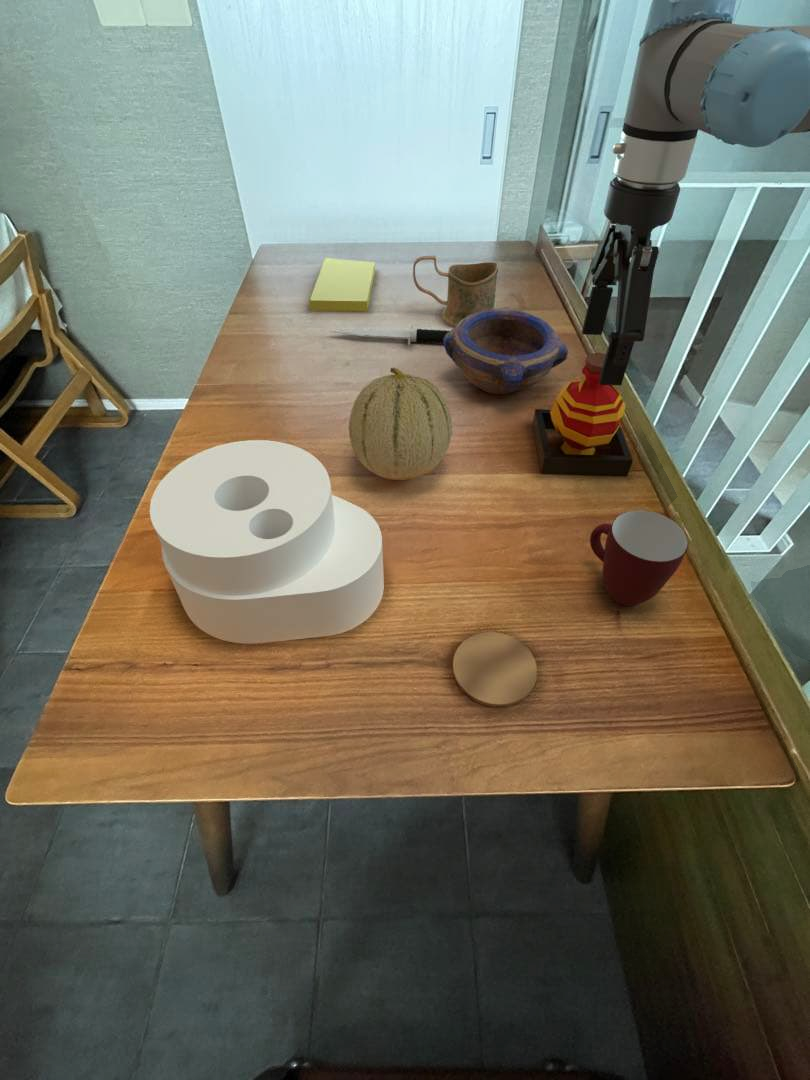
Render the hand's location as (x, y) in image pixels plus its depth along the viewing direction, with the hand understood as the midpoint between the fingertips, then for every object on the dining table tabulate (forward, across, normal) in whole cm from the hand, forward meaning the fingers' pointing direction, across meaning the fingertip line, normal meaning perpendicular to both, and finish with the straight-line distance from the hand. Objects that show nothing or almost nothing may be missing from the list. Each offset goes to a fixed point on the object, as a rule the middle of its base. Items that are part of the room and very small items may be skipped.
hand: (600, 357), depth 80 cm
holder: (+15, 0, 0) cm, 15 cm away
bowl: (+16, -19, -10) cm, 27 cm away
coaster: (+15, +40, -15) cm, 45 cm away
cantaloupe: (+16, +6, -27) cm, 32 cm away
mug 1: (+16, -45, -18) cm, 51 cm away
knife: (+16, -34, -30) cm, 48 cm away
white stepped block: (+15, +29, -40) cm, 52 cm away
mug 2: (+15, +28, 0) cm, 32 cm away
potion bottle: (+16, 0, 0) cm, 16 cm away
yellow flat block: (+16, -59, -43) cm, 75 cm away
